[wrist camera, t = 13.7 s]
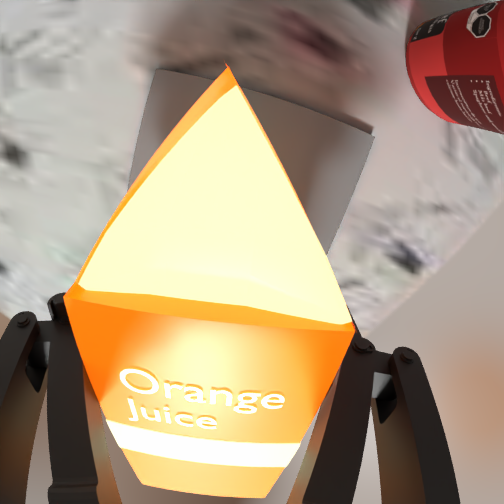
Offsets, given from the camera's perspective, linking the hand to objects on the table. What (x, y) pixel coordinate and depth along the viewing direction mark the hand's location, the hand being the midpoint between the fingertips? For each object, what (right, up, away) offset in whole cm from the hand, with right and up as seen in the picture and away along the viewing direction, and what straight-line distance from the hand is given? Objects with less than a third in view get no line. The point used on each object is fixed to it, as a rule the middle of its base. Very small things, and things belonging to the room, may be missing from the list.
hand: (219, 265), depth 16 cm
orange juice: (-1, -12, +1) cm, 12 cm away
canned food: (+15, +14, -1) cm, 21 cm away
